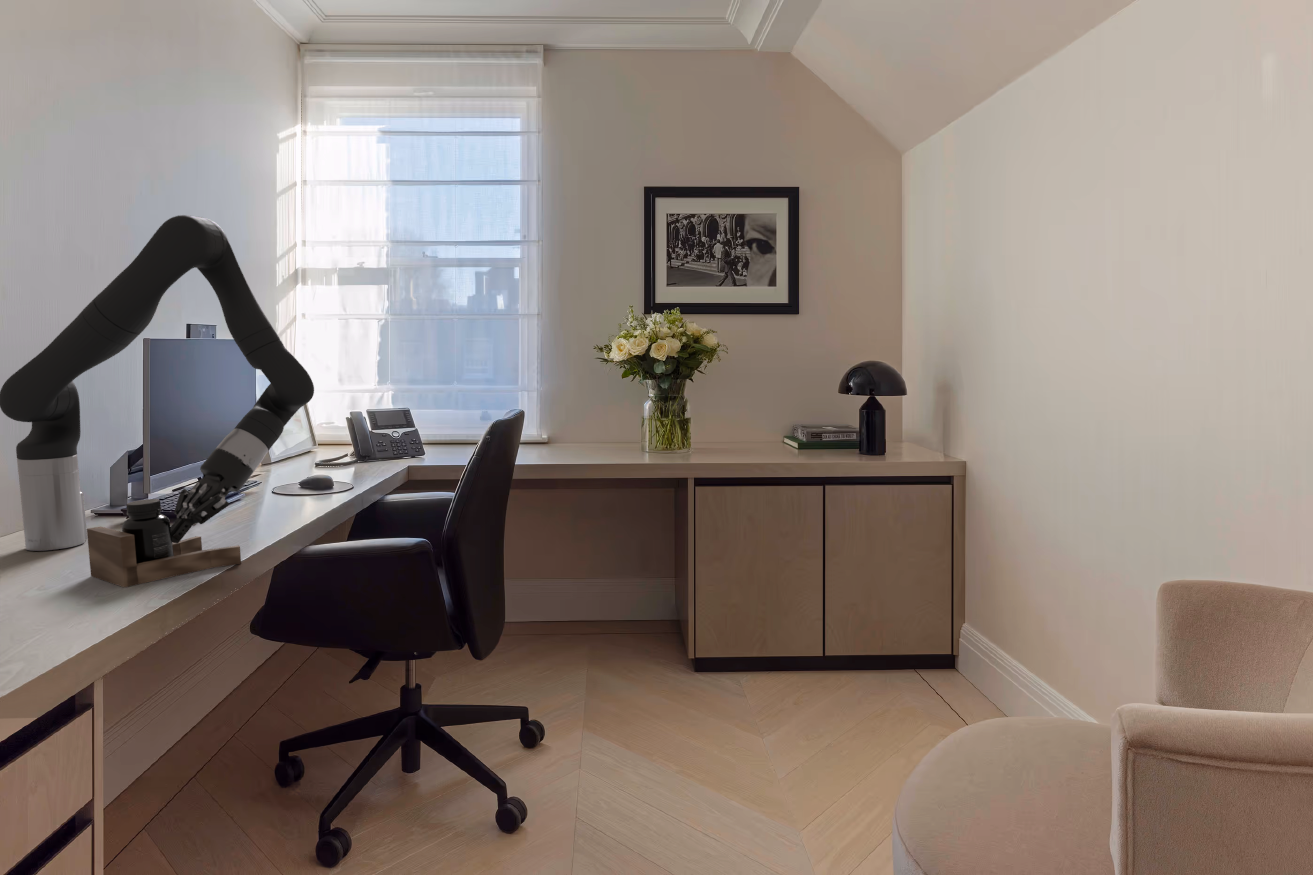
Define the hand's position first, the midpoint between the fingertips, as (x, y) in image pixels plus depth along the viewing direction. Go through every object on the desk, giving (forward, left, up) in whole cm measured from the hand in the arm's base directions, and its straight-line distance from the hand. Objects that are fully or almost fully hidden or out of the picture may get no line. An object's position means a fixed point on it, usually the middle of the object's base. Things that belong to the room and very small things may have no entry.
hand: (170, 540), depth 139 cm
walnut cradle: (+1, -1, -5) cm, 5 cm away
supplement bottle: (+3, -2, -5) cm, 6 cm away
